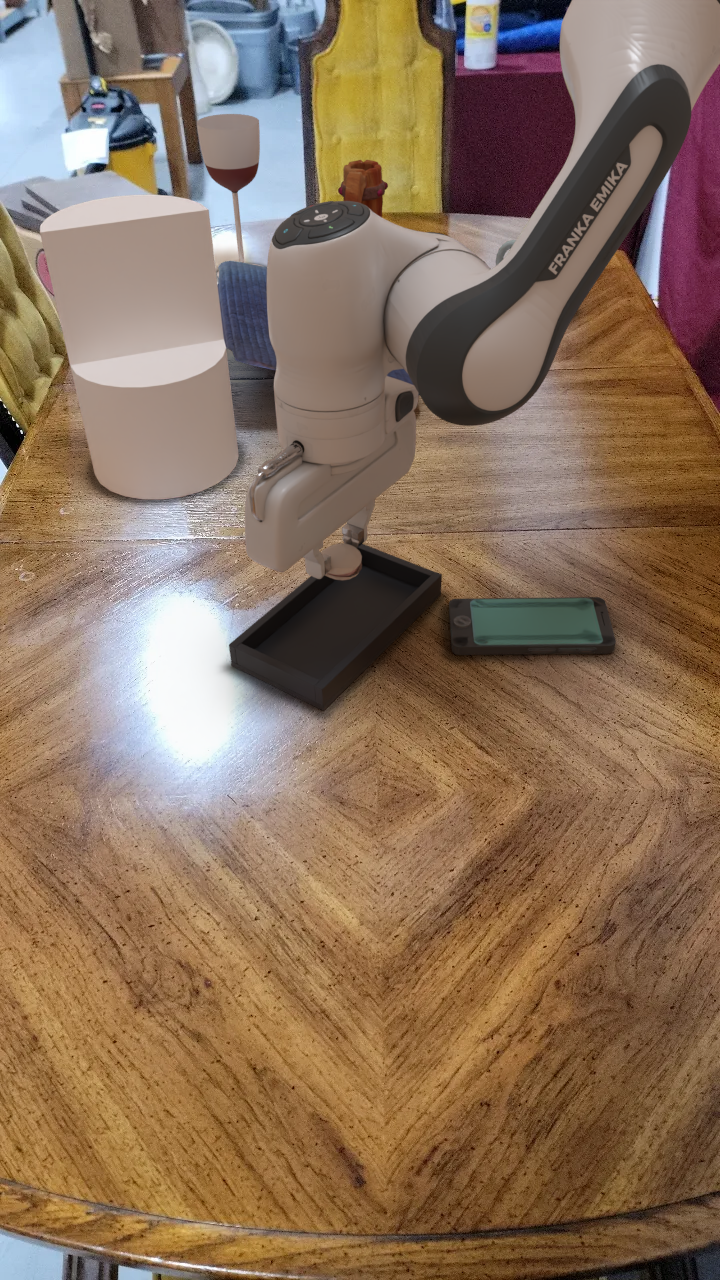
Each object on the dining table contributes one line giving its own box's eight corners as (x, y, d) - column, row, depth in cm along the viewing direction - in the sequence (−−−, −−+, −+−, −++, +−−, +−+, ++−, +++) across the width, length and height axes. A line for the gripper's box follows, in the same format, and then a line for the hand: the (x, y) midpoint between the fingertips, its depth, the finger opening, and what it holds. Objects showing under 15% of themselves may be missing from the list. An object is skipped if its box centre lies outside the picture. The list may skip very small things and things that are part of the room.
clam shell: (364, 585, 89) (364, 562, 87) (308, 589, 88) (307, 566, 87) (359, 557, 92) (359, 535, 90) (305, 561, 92) (304, 539, 90)
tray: (441, 595, 98) (442, 574, 97) (323, 711, 86) (322, 689, 85) (354, 560, 103) (353, 540, 101) (231, 665, 91) (228, 644, 89)
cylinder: (84, 441, 124) (31, 207, 105) (219, 415, 128) (190, 186, 110) (106, 512, 111) (50, 261, 93) (255, 481, 115) (229, 235, 97)
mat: (194, 317, 158) (205, 243, 151) (359, 347, 165) (376, 278, 159) (210, 437, 122) (225, 348, 116) (419, 469, 130) (444, 386, 124)
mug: (347, 242, 176) (344, 150, 166) (392, 244, 174) (392, 152, 165) (328, 272, 165) (324, 176, 155) (376, 275, 164) (375, 178, 154)
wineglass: (246, 258, 171) (232, 110, 156) (282, 273, 165) (271, 121, 150) (202, 272, 166) (184, 121, 151) (239, 288, 160) (223, 133, 146)
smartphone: (448, 597, 96) (604, 595, 96) (448, 607, 97) (602, 605, 97) (452, 646, 91) (617, 645, 90) (452, 657, 91) (615, 655, 91)
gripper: (281, 487, 73) (294, 632, 82) (429, 380, 85) (426, 516, 94) (216, 463, 75) (235, 605, 84) (369, 363, 88) (371, 496, 97)
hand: (337, 557), depth 89 cm, fingers closed on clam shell, 4 cm apart
